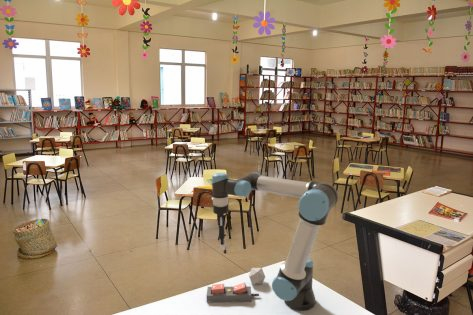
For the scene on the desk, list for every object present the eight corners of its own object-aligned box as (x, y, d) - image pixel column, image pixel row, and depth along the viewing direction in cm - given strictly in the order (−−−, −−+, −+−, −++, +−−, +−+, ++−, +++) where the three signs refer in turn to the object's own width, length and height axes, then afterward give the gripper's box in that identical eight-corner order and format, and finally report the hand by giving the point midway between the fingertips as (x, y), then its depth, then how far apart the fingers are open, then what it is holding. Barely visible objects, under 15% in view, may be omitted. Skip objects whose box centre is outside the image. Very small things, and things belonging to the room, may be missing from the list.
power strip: (258, 292, 190) (258, 285, 190) (259, 301, 183) (259, 294, 182) (207, 292, 190) (207, 286, 190) (206, 302, 183) (206, 294, 182)
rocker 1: (224, 287, 188) (223, 283, 187) (224, 292, 184) (223, 288, 183) (212, 289, 188) (212, 284, 188) (212, 294, 184) (211, 289, 183)
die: (260, 290, 194) (269, 273, 195) (245, 281, 194) (255, 264, 196) (258, 287, 202) (268, 271, 204) (244, 278, 203) (254, 262, 204)
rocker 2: (246, 286, 188) (244, 282, 187) (246, 291, 183) (244, 287, 183) (235, 290, 188) (233, 286, 188) (235, 295, 184) (233, 290, 183)
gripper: (213, 200, 188) (215, 244, 192) (212, 209, 175) (214, 255, 179) (228, 200, 188) (229, 243, 192) (228, 208, 175) (230, 255, 180)
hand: (222, 249), depth 186 cm, fingers closed
